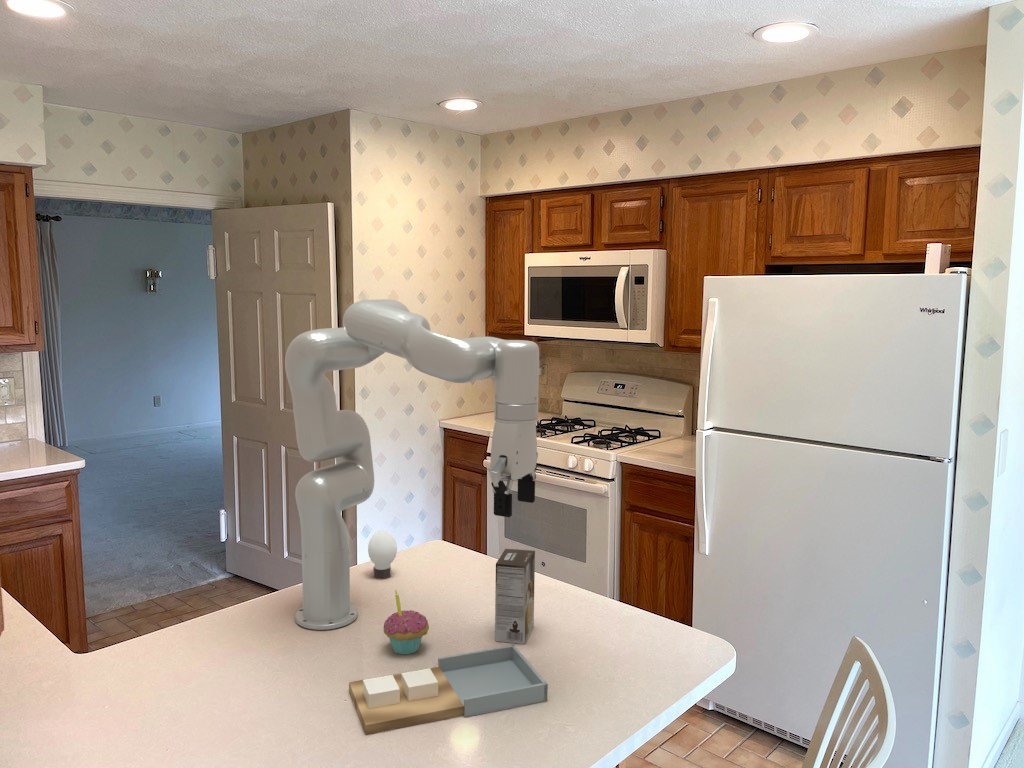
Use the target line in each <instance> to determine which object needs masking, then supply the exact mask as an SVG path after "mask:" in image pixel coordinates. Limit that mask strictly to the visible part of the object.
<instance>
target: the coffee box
mask: <svg viewBox="0 0 1024 768" xmlns="http://www.w3.org/2000/svg"><path fill="white" fill-rule="evenodd" d="M535 564H536V550H533V549H532V550H530V549H529V550H527V549H516V548H514V549H513V548H504V551H502V554H501V555H500V557H499V558H498V560H496V563H495V595H494V597H495V598H494V602H495V605H494V606H495V607H494V611H495V613H494V614H495V615H494V641H495V642H498V643H499V642H501V643H510V644H518V645H526V643H527V641H528V639H529V636H530V634H531V632H532V630H533V628H534V625H535V622H534V621H535V578H536V577H535V576H536V575H535V570H536V568H535V567H536V565H535Z"/></svg>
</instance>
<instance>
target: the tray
mask: <svg viewBox="0 0 1024 768" xmlns="http://www.w3.org/2000/svg"><path fill="white" fill-rule="evenodd" d="M437 659H438V660H437V662H438V663H437V667H440V669H441V670H442V672H443V674H444V675H445V677H446V678H447V680H448V682H449V683H450V685H451V686H452V688H453V690H454V691H455V693H456V694H457V696H458V697H459V699H460V701H461V702H462V704H463V705H464V715H463V717H464V718H467V717H473V716H478V715H484V714H488V713H493V712H494V713H495V712H497V711H503V710H509V709H513V708H517V707H523V706H528V705H533V704H539V703H543V702H547V701H548V690H549V689H548V688H549V687H548V686H549V684H548V682H547V681H546V680H545V679H544V678H543V676H542V675H541V674H540V673H539V672H538V671H537V669H535V668H534V666H533V665H532V664H531V663H530V661H528V659H527V658H526V657H525V656H524V655H523V653H522V652H521V651H520V650H519V649H518V648H517V646H516V645H514V644H512V645H511V644H510V645H506V646H499V647H494V648H493V647H492V648H488V649H482V650H475V651H470V652H465V653H459V654H453V655H447V656H441V657H437Z"/></svg>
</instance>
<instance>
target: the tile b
mask: <svg viewBox="0 0 1024 768" xmlns="http://www.w3.org/2000/svg"><path fill="white" fill-rule="evenodd" d="M428 668H429V669H428ZM428 668H424V669H423V668H422V669H423V670H422V669H418V670H412V672H411V671H407V672H406V673H405V672H400V673H401V687H402V689H403V691H404V693H405V695H406V697H407V699H408V701H413V700H418V699H424V698H429V697H434V696H438V681H437V679H436V678H435V676H434V674H433V673H432V671H431V669H430V668H431V667H428Z"/></svg>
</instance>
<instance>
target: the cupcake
mask: <svg viewBox="0 0 1024 768" xmlns="http://www.w3.org/2000/svg"><path fill="white" fill-rule="evenodd" d="M394 592H395V593H394V597H395V598H394V599H395V602H396V608H397V612H393V613H392V614H391V615H389V616H388V617H387V619H385V621H384V622H383V634H384V635H386V636H387V638H389V641H390V643H391V646H392V649H393V652H394V653H396V654H398V653H399V655H411V654H414V653H416V652H417V651H418V650H419V648H420V644H421V641H422V638H423V637H424V636H426V635H427V634H428V632H429V628H430V627H429V622H428V620H427V618H426V616H425V615H423V614H421V613H420V612H419V611H415V610H411V609H410V610H402V608H401V602H400V594H399V593H397V590H394Z"/></svg>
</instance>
